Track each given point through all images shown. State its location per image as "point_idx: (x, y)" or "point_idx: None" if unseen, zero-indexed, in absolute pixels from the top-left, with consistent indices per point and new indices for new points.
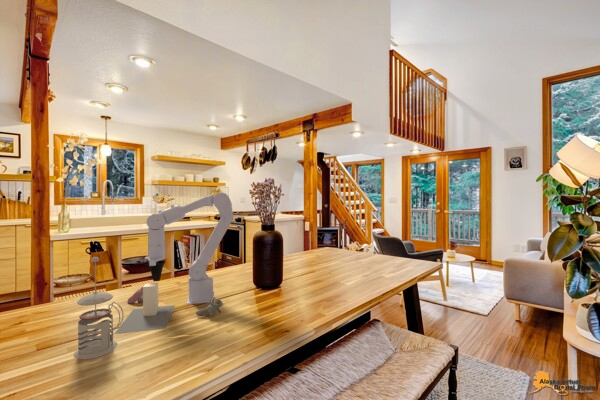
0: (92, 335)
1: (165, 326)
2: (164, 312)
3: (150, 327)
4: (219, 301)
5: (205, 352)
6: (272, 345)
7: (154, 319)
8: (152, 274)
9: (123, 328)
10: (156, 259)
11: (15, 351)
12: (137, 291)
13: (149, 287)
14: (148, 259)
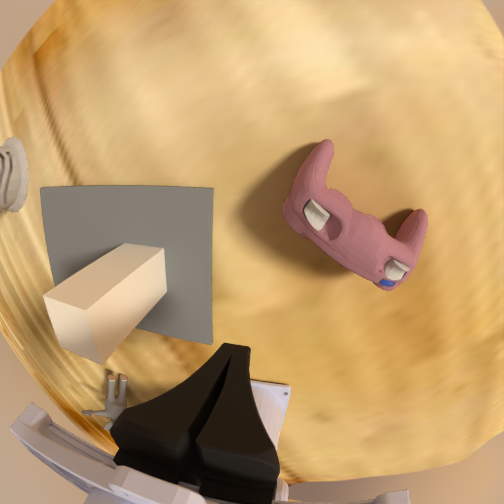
0: (6, 159)
1: None
2: None
3: (60, 271)
4: (107, 427)
5: (23, 340)
6: (53, 401)
7: None
8: (195, 374)
9: (57, 201)
10: (55, 471)
11: (47, 17)
12: (308, 202)
13: (54, 319)
14: (78, 464)
